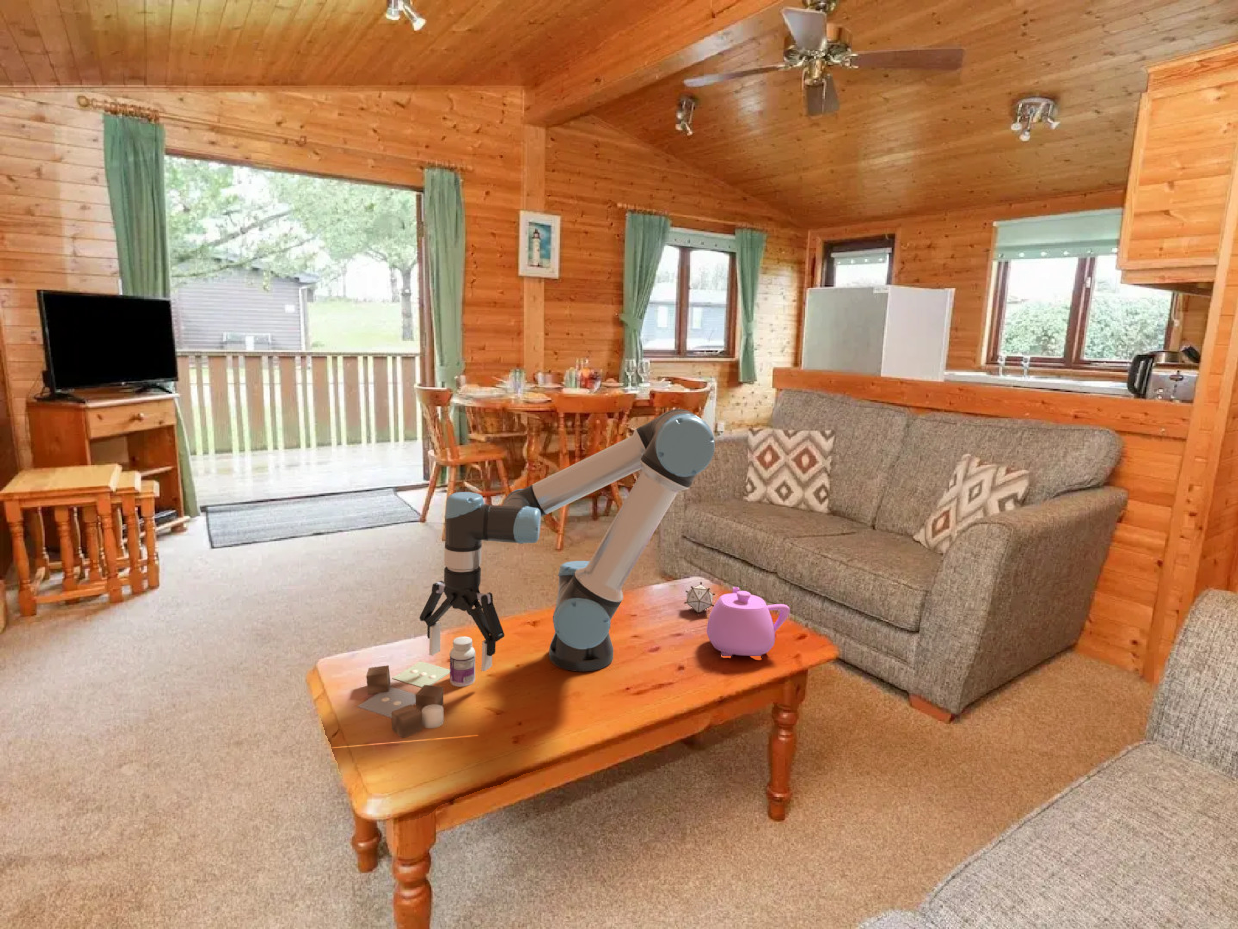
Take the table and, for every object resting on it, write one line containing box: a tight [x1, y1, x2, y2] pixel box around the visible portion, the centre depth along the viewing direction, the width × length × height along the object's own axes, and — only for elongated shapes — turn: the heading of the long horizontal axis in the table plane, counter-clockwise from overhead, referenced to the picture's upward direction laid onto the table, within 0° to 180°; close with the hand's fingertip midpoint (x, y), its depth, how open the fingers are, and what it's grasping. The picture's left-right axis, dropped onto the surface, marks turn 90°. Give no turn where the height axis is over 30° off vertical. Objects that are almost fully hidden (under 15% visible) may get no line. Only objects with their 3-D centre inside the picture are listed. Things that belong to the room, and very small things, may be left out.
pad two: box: [357, 685, 417, 719], centre depth 139 cm, size 9×9×1 cm
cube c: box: [365, 665, 391, 695], centre depth 144 cm, size 4×4×4 cm
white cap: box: [422, 704, 444, 729], centre depth 132 cm, size 4×4×3 cm
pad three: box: [392, 660, 450, 689], centre depth 151 cm, size 9×9×1 cm
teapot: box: [706, 586, 791, 657], centre depth 171 cm, size 20×20×15 cm
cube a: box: [415, 685, 444, 712], centre depth 137 cm, size 4×4×4 cm
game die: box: [683, 581, 716, 613], centre depth 193 cm, size 9×8×10 cm
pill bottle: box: [449, 636, 476, 687], centre depth 148 cm, size 5×5×10 cm
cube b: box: [391, 704, 423, 739], centre depth 129 cm, size 4×4×4 cm
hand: (460, 660), depth 148 cm, fingers open, 13 cm apart
